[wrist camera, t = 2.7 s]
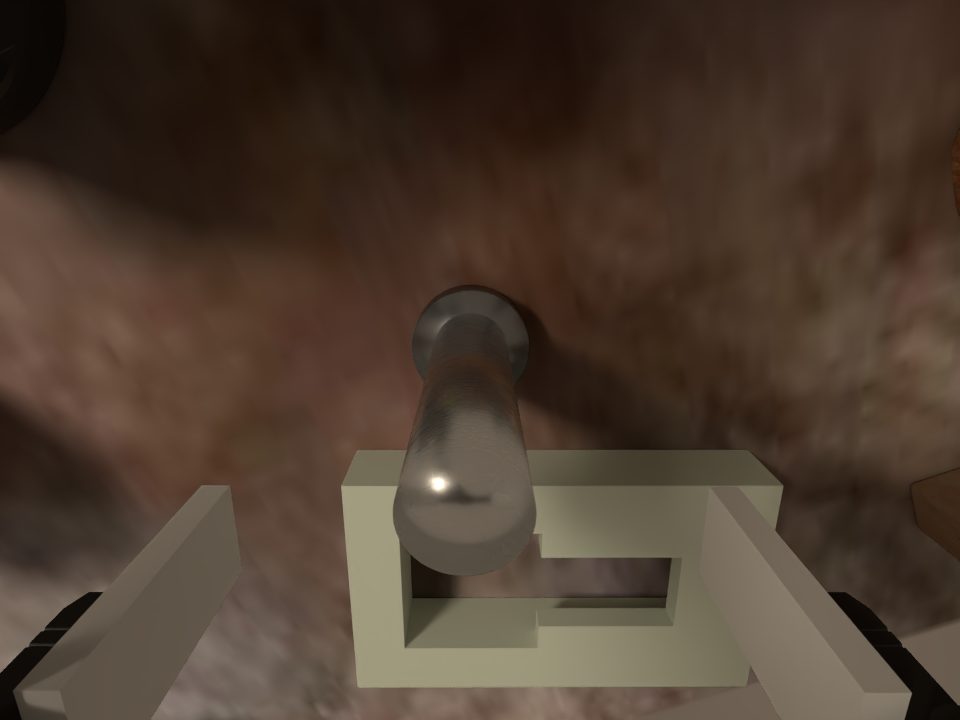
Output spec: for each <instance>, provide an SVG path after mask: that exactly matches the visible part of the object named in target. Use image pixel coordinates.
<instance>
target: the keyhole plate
mask: <svg viewBox="0 0 960 720" xmlns="http://www.w3.org/2000/svg"><path fill="white" fill-rule="evenodd" d="M406 451H407V450H357V452H356V454H355V456H354V458H353V461H352V463H351V465H350V467H349V470H348V472H347V474H346V477H345V479H344V481H343V483H342V486H341V489H342V501H343V513H344V525H345V538H346V550H347V562H348V574H349V587H350V599H351V611H352V623H353V636H354V648H355V660H356V672H357V685H358V687H721V686H747V682H748V676H749V671H750V664H749V662H748V660H747V658H746V656H745V655H744V653H743V651H742V649H741V648H740V646H739V644H738V642H737V640H736V639H735V637H734V635H733V633H732V631H731V630H730V628H729V626H728V624H727V622H726V621H725V619H724V617H723V615H722V613H721V612H720V610H719V608H718V606H717V604H716V603H715V601H714V599H713V597H712V596H711V594H710V592H709V590H708V588H707V587H706V585H705V583H704V581H703V579H702V578H701V576H700V574H699V572H698V570H699V563H700V555H701V548H702V541H703V533H704V526H705V518H706V511H707V503H708V496H709V489H710V487H739V489H740V490H741V491H742V492H743V493H744V494H745V496H746V497H747V498H748V499H749V500H750V502H751V503H752V504H753V505H754V506H755V508H756V509H757V510H758V511H759V512H760V513H761V515H762V516H763V517H764V518H765V519H766V521H767V522H768V523H769V524H770V525H771V526H772V528H773V529H774V530H775V529H776V524H777V518H778V513H779V507H780V502H781V497H782V491H783V485H782V484H781V483H780V482H779V481H778V480H777V479H776V478H775V477H774V476H773V475H772V474H771V473H770V472H769V471H768V470H767V469H766V468H765V467H764V465H763V464H762V463H761V462H760V461H759V460H758V459H757V458H756V457H755V456H754V455H753V454H752V453H751V452H750V451H749V450H526V453H527V458H528V464H529V469H530V475H531V480H532V486H533V492H534V497H535V503H536V512H537V517H536V525H535V528H534V532H533V534H539V546H540V552H541V558H672V560H671V568H670V577H669V585H668V593H667V598H412V578H411V555H410V553H409V552H408V551H407V550H406V549H405V547H404V546H403V545H402V543H401V541H400V540H399V538H398V535H397V533H396V530H395V527H394V523H393V504H394V498H395V494H396V491H397V487H398V483H399V479H400V475H401V471H402V467H403V463H404V459H405V455H406Z"/></svg>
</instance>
